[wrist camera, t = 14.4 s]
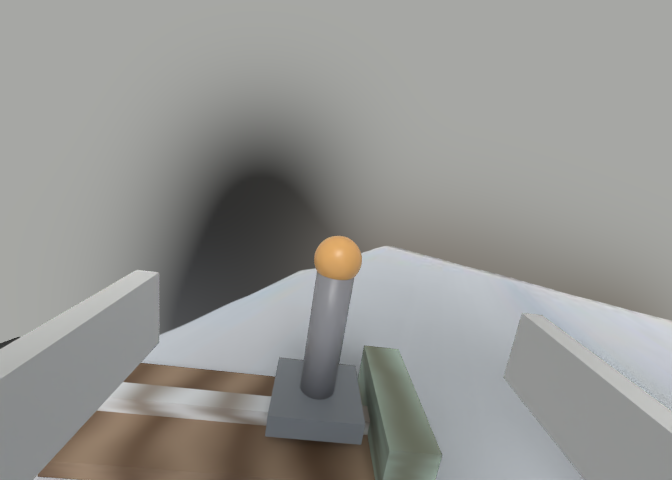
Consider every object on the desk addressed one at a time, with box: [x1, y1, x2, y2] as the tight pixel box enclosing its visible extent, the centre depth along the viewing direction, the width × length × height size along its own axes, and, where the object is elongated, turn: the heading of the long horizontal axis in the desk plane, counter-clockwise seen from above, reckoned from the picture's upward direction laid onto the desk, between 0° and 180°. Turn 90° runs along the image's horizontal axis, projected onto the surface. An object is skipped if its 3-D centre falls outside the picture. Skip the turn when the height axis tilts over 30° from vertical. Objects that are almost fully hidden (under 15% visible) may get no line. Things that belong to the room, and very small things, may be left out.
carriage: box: [265, 236, 365, 445], centre depth 29 cm, size 8×8×18 cm
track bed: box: [38, 346, 442, 480], centre depth 31 cm, size 30×14×6 cm, turn 93°
